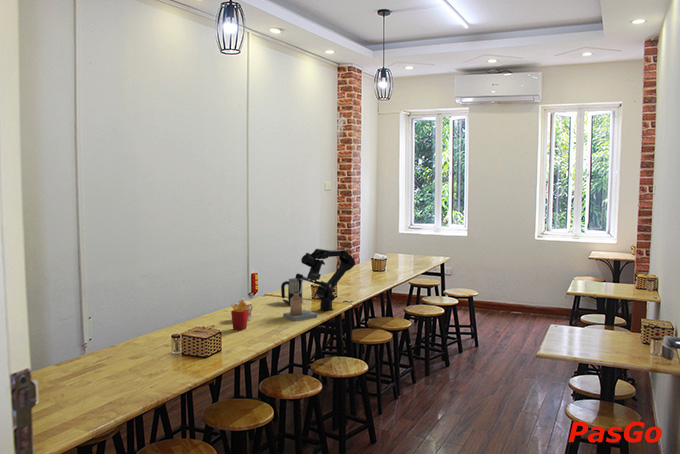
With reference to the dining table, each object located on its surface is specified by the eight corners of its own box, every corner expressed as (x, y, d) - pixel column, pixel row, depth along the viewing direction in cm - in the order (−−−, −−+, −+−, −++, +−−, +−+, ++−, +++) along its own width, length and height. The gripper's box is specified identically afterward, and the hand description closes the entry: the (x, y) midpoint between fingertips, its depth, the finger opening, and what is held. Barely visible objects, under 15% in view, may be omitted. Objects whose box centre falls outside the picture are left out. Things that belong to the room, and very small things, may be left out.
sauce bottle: (293, 312, 312) (293, 289, 311) (303, 313, 310) (303, 290, 308) (288, 314, 306) (288, 291, 305) (298, 316, 304) (298, 292, 303)
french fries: (230, 330, 280) (230, 301, 279) (239, 326, 288) (239, 298, 287) (245, 332, 277) (245, 302, 276) (253, 328, 285) (253, 299, 283)
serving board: (304, 313, 319) (304, 309, 319) (317, 317, 310) (317, 313, 310) (283, 316, 310) (283, 313, 309) (295, 321, 300) (295, 317, 300)
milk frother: (301, 300, 354) (301, 277, 353) (306, 305, 339) (306, 282, 337) (279, 301, 350) (279, 278, 349) (283, 306, 335) (284, 283, 333)
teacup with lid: (244, 322, 296) (244, 301, 296) (231, 319, 301) (231, 299, 300) (258, 317, 307) (258, 297, 306) (245, 315, 311) (245, 295, 310)
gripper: (299, 262, 312) (290, 288, 308) (330, 272, 311) (322, 298, 308) (299, 265, 323) (291, 290, 319) (330, 275, 322) (322, 300, 319)
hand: (306, 294), depth 316 cm, fingers open, 9 cm apart
